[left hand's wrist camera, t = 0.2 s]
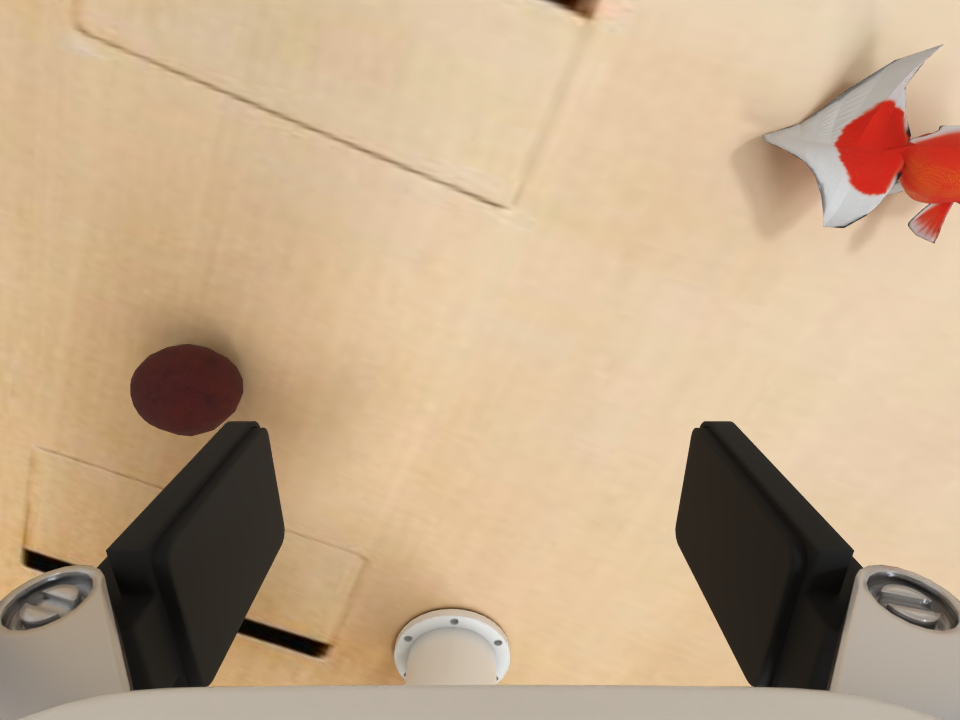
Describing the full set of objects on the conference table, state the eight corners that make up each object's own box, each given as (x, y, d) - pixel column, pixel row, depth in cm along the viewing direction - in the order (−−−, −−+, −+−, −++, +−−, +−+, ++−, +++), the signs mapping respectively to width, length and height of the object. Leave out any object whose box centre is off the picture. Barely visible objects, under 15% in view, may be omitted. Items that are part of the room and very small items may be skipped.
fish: (918, 307, 37) (1032, 264, 28) (716, 211, 41) (753, 144, 32) (997, 182, 37) (1139, 94, 28) (788, 97, 41) (848, -5, 32)
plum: (153, 335, 43) (94, 369, 36) (244, 328, 43) (202, 360, 36) (179, 414, 46) (129, 457, 39) (265, 407, 46) (230, 450, 39)
